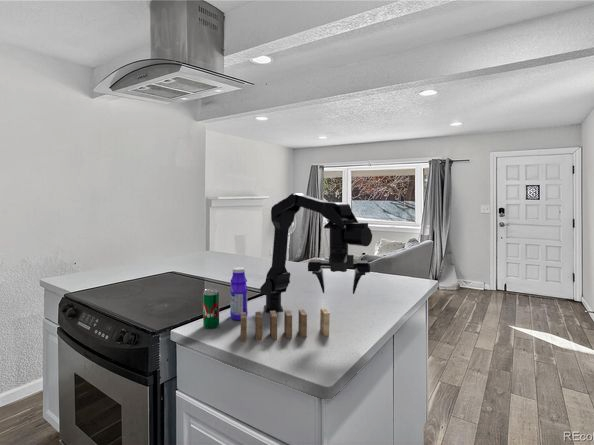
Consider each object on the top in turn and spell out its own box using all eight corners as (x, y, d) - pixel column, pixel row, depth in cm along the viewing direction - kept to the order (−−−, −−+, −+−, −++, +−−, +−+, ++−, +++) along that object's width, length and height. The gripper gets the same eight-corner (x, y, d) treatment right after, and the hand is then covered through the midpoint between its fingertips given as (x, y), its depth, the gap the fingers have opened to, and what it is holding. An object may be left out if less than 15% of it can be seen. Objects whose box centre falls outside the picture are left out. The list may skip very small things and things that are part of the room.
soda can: (220, 323, 117) (220, 288, 116) (217, 329, 112) (217, 292, 111) (205, 323, 117) (204, 288, 116) (201, 329, 112) (201, 292, 111)
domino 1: (240, 334, 108) (240, 312, 107) (245, 334, 108) (245, 312, 108) (241, 341, 103) (241, 318, 103) (246, 341, 103) (246, 317, 103)
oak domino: (320, 329, 113) (320, 308, 112) (324, 329, 113) (325, 308, 112) (324, 335, 108) (324, 313, 107) (329, 335, 108) (329, 313, 108)
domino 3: (269, 332, 110) (270, 310, 109) (275, 332, 110) (275, 310, 109) (271, 339, 105) (271, 316, 104) (277, 339, 105) (277, 316, 105)
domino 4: (284, 332, 111) (284, 310, 110) (289, 331, 111) (289, 309, 110) (286, 338, 106) (286, 315, 105) (292, 338, 106) (292, 315, 105)
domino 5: (298, 331, 111) (298, 309, 111) (303, 330, 112) (303, 309, 111) (301, 337, 106) (301, 314, 106) (306, 337, 107) (306, 314, 106)
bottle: (228, 315, 125) (228, 266, 124) (244, 313, 128) (243, 265, 126) (233, 322, 119) (232, 271, 117) (249, 319, 121) (249, 269, 120)
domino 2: (255, 333, 109) (255, 311, 108) (260, 333, 109) (260, 311, 109) (256, 340, 104) (256, 317, 103) (262, 340, 104) (262, 316, 104)
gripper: (306, 246, 102) (306, 299, 103) (371, 247, 100) (371, 301, 101) (309, 241, 113) (309, 289, 114) (368, 242, 111) (368, 291, 112)
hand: (338, 293), depth 110 cm, fingers open, 9 cm apart
